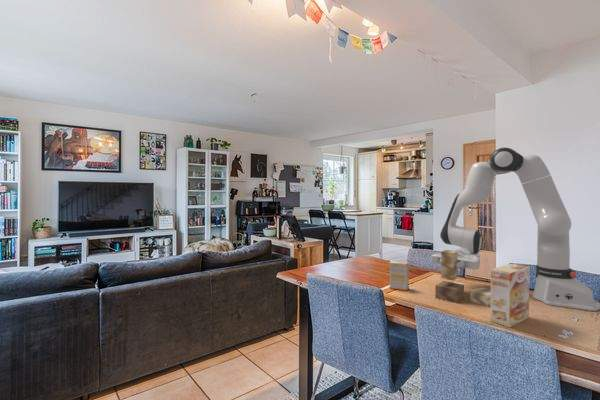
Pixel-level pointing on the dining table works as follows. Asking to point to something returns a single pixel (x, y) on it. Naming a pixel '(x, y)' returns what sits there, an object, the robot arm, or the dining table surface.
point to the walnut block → (449, 291)
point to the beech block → (481, 296)
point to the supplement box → (399, 275)
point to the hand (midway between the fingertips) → (448, 263)
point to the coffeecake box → (509, 294)
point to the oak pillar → (448, 264)
